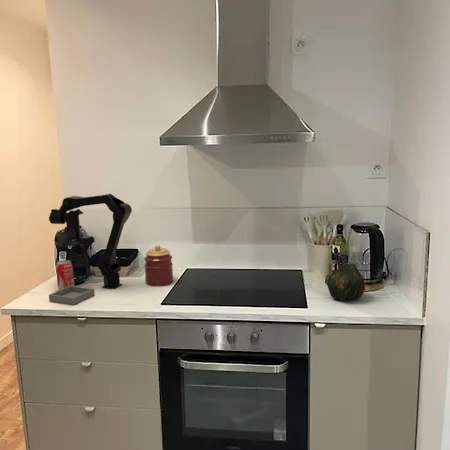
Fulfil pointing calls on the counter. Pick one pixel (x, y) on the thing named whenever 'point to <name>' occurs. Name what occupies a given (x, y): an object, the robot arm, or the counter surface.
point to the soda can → (64, 274)
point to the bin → (71, 295)
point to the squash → (346, 283)
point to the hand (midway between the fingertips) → (76, 257)
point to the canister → (158, 267)
